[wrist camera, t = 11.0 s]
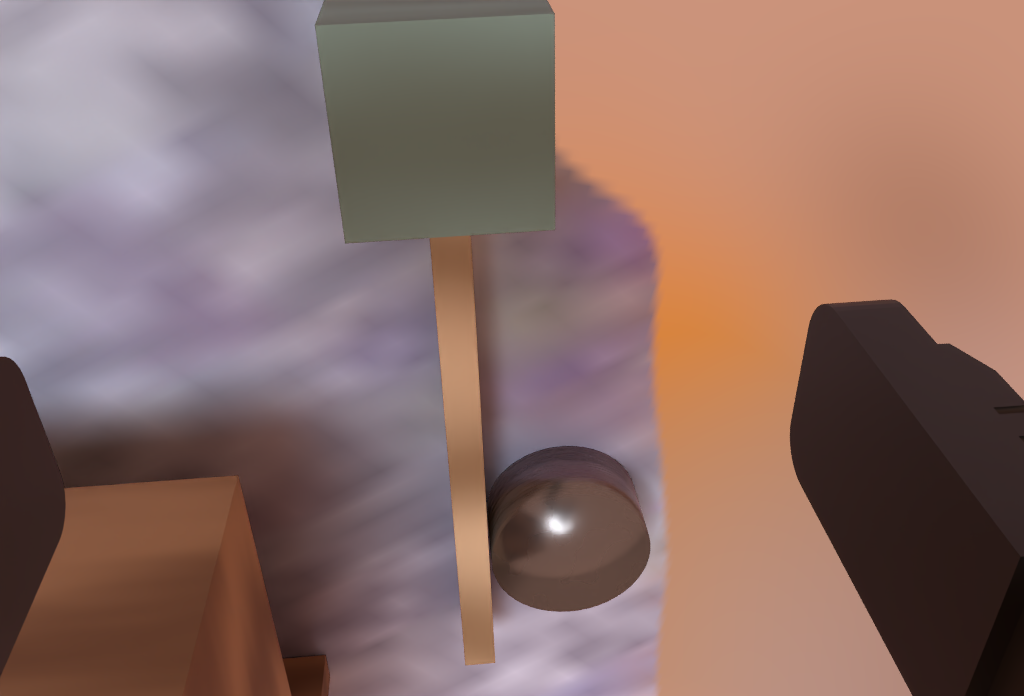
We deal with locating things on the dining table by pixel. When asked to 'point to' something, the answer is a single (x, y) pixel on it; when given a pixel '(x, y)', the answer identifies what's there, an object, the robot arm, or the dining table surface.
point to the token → (566, 529)
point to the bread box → (156, 601)
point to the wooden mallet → (445, 187)
